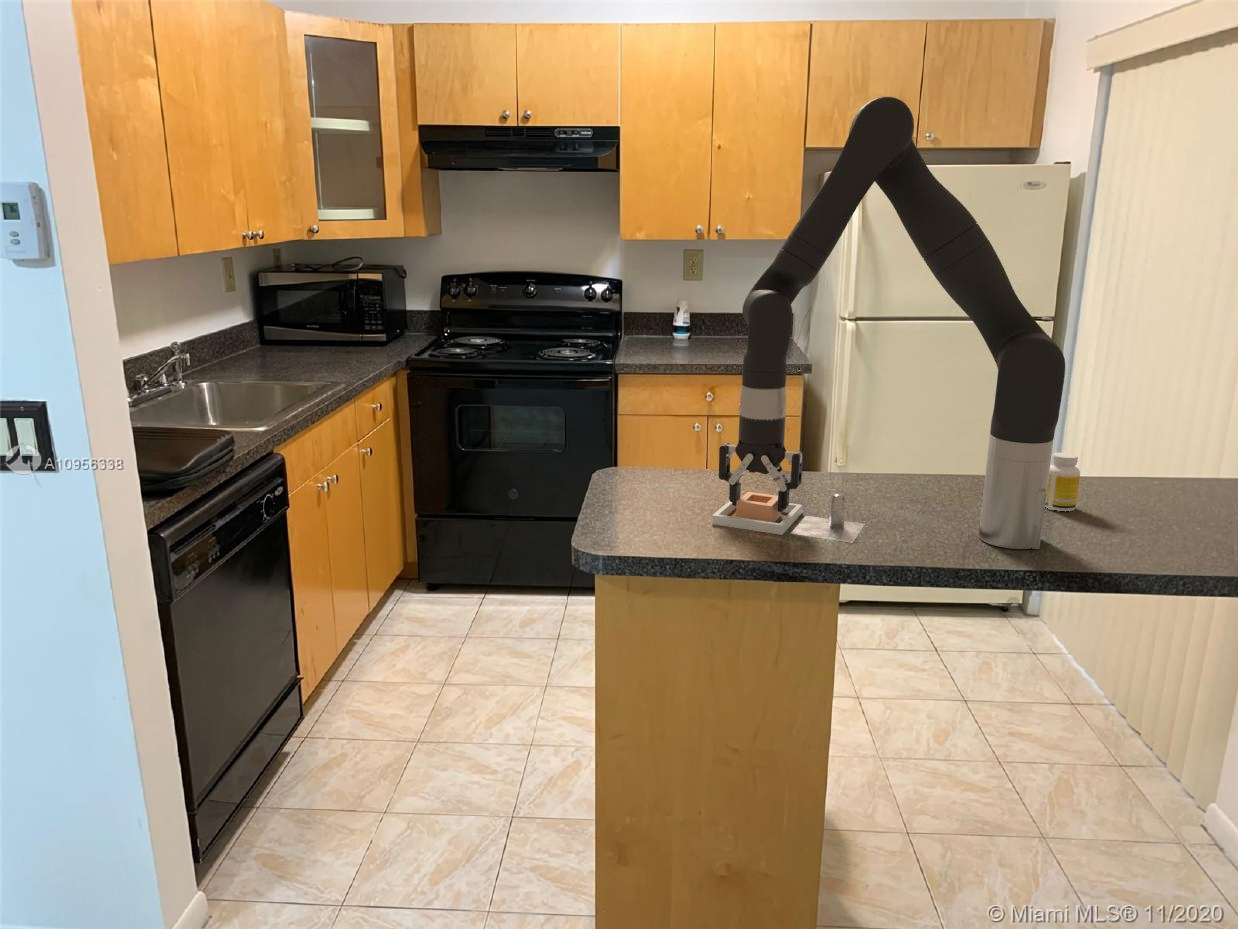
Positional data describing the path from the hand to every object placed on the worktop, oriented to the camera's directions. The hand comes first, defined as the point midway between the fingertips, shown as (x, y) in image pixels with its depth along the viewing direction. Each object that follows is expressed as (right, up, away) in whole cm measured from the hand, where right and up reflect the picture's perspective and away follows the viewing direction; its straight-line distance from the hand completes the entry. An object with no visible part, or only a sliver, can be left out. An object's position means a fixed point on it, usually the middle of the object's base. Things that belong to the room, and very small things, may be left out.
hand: (758, 507), depth 156 cm
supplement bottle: (+55, -1, +10) cm, 56 cm away
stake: (+11, -4, -4) cm, 12 cm away
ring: (0, -2, +1) cm, 2 cm away
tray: (0, -3, +1) cm, 3 cm away
